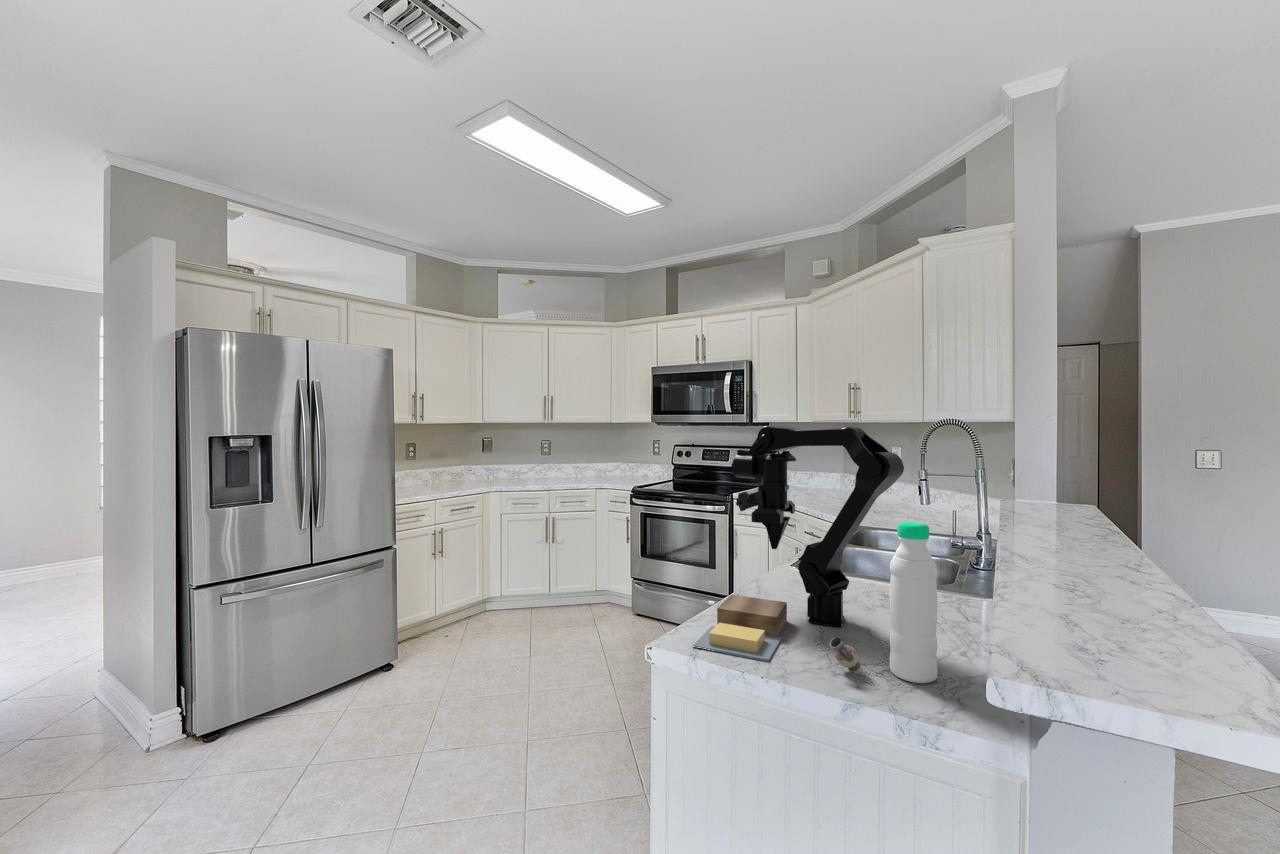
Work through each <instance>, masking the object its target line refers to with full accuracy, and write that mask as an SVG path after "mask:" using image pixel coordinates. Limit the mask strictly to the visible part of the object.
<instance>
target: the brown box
mask: <svg viewBox="0 0 1280 854" xmlns="http://www.w3.org/2000/svg"><path fill="white" fill-rule="evenodd" d="M787 604H788V602H787V601H780V600H773V599H765V598H758V597H751V596H744V595H737V594H730V595H729V596H728V597H727V598H726V599H725V600H724V601H723V602H722V603H721V604H719V606H718V607H717V608H716V610H717V612H716V620H717V621H716V622H717V624H718V623H725V624H731V625H737V626H743V627H749V628H754V629H760V630H765V635H769V636H775V637H779V635H780V633H781V632H782V630H783V629H784V627H785V625H786V623H787V621H788V605H787ZM717 624H716V625H717Z"/></svg>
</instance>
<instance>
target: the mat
mask: <svg viewBox="0 0 1280 854" xmlns="http://www.w3.org/2000/svg"><path fill="white" fill-rule="evenodd" d="M715 626H716V625H715ZM715 626H714V625H711V626H710V627H709V628H708V629H707V630H706V631H705V632H704V634H703V635H701V636H700V638H699V639H697V641H696V642H695V643H693V645H692V647H693V646H695V647H701V648H706V649H710V650H714V651H718V652H717V653H719V652H722V653H721V654H724V653H726V654H725V655H730V656H735V657H740V658H747V659H751V660H757V661H762V662H767V663H769V662H770V661H771V659H772V657H773V656H774V654H775V651H776V650H777V648H778V646H779V645H780V643H781V641H782V637H780V636H778V637H775V636H769V635H765V641H764V643H763V644H762V646H761V647H760V649H759V650H758V652H757V653H756V652H751V651H746V650H740V649H735V648H730V647H724V646H719V645H714V644H709V633H710V631H711V630H712V629H713V628H714V627H715ZM714 651H713V652H714Z"/></svg>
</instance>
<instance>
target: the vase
mask: <svg viewBox="0 0 1280 854" xmlns="http://www.w3.org/2000/svg"><path fill="white" fill-rule="evenodd" d="M829 640H830V639H829ZM829 647H830V648H831V649H832V650H834V651H835V653H834V657H835V660H836V661H837V663H838V664H840V666H842V667H844V668H846V669H847V670H848V671H849V672H851V673H854V674H856V675H858V676H860V677H861V676H862V675H863V676H862V677H861V678H862V679H864V676H867V677H870V673H869V672H868V671H867V670H866V669H865V668H864V667H863V666H862V664H861V662H860V661H858V660H859V659H858V658H859V657H858V653H857V651H856V650H855V649H854V647H852V646H851V645H850V644H849V645H848V644H844V640H843V639H842V638H841V637H833V638H831V640H830V641H829Z"/></svg>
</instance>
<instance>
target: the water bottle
mask: <svg viewBox="0 0 1280 854" xmlns="http://www.w3.org/2000/svg"><path fill="white" fill-rule="evenodd" d="M896 529H897V536H898V539H899V541H900V544H899V546H898V547H897V548H896V550H895V553H894V554H893V556H892V559H891V560H890V563H889V570H890V571H889V572H890V580H889V581H890V582H889V616H890V629H889V630H890V631H889V645H890V651H889V669H890V671H891V673H892V674H893V675H894V676H896V677H897V678H899V679H901V680H903V681H906V682H911V683H915V684H928V683H932V682H934V681H936V679H937V678H938V661H937V651H938V638H937V634H936V633H937V627H938V625H937V624H938V588H937V587H938V585H937V577H938V567H937V565H936V563H935V560H934V559H933V557H932V554H931V552H930V550H929V548H928V547H927V543H928V542H929V538H930V527H929V526H928V525H927V524H925V523H922V522H921V523H920V522H917V521H916V522H915V521H914V522H913V521H902V522H900V523H898V525H897V528H896Z"/></svg>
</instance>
